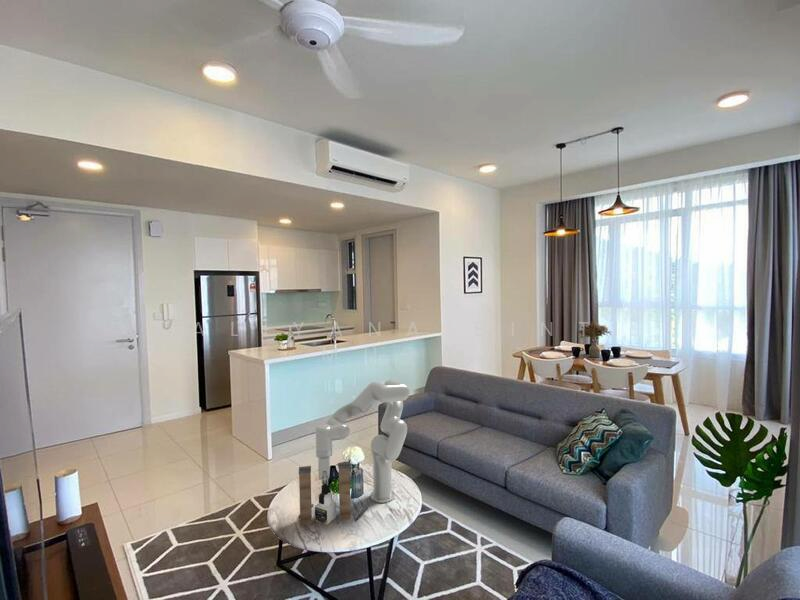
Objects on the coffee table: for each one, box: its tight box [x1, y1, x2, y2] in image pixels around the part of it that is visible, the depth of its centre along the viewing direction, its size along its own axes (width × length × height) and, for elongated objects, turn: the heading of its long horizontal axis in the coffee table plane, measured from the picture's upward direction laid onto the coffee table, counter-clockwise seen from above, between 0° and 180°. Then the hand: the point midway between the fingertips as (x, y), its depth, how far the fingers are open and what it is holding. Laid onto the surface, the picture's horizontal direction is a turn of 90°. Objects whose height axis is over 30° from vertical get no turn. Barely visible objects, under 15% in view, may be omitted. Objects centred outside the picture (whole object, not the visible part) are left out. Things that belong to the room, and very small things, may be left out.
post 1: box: [298, 465, 313, 526], centre depth 177 cm, size 5×5×25 cm
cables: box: [298, 503, 368, 521], centre depth 184 cm, size 11×31×1 cm, turn 85°
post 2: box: [337, 461, 352, 521], centre depth 181 cm, size 5×5×25 cm
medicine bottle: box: [314, 491, 337, 526], centre depth 179 cm, size 7×7×12 cm
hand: (325, 487), depth 179 cm, fingers open, 9 cm apart
